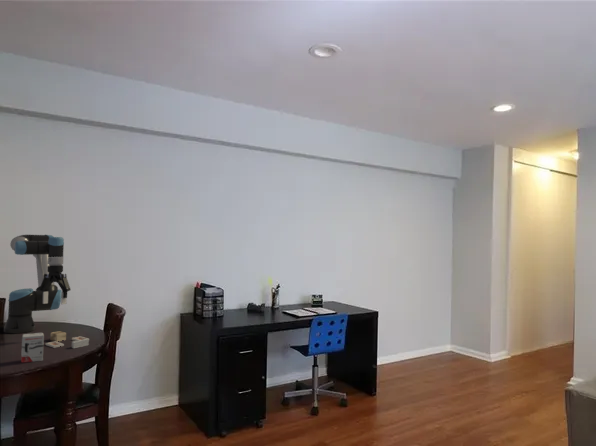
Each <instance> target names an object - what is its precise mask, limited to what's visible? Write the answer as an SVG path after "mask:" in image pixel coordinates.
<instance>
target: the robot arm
mask: <svg viewBox="0 0 596 446" xmlns="http://www.w3.org/2000/svg"><path fill="white" fill-rule="evenodd" d="M64 240H65V239H64V237H61V236H53V235H51V234H21V235H17V236H15V237H14V238H12V239H11V241H10V244H9V245H10V248H11V249H12V250H13V251H14V254H15V255H17V256H18V255H19V256H21V255H22V256H23V255H24V256H26V255H30V256H31V255H32V256H33V257H34V258H35V261H36V262H35V264H36V273H37V274H36V276H37V285H38V287H36V289H35V290H34V289H33V288H22V289H21V288H20V289H16V290H12V291H11V292H10V293H9V295H8V311H7V312H8V313H7V315H8V316H7V319H6V322H5V324H4V327H3V333H7V334H26V333H30V332H33V331H35V330H36V325H35V321H34V319H33V312H40V311H54V310H58V309H60V306H61V305H66V304H67V299H68V292H70V291H71V287H70V284H69V280H68V278H67V277H68V276H67V274H66V273H63V272H64V266H63V265H64V244H65V242H64ZM56 284H58V285H56ZM58 286H59V287H60V289H59V288H58Z"/></svg>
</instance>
